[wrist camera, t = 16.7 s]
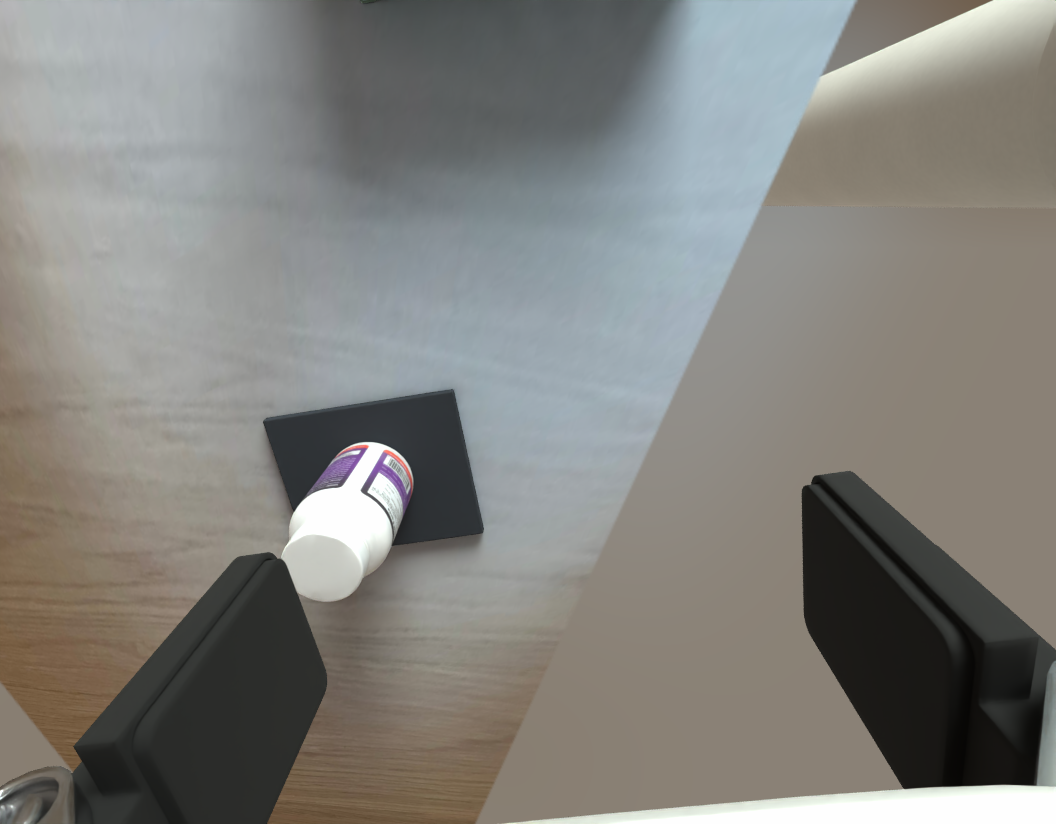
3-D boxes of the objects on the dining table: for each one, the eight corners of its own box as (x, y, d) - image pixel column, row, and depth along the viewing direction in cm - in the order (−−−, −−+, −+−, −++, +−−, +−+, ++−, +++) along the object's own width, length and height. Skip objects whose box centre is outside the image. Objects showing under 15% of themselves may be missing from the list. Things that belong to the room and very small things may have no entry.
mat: (453, 388, 36) (452, 391, 35) (483, 528, 39) (483, 533, 38) (266, 417, 36) (262, 421, 36) (311, 553, 40) (308, 558, 39)
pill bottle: (326, 506, 38) (260, 603, 29) (335, 431, 36) (268, 509, 27) (408, 523, 38) (369, 623, 29) (421, 449, 36) (384, 532, 27)
